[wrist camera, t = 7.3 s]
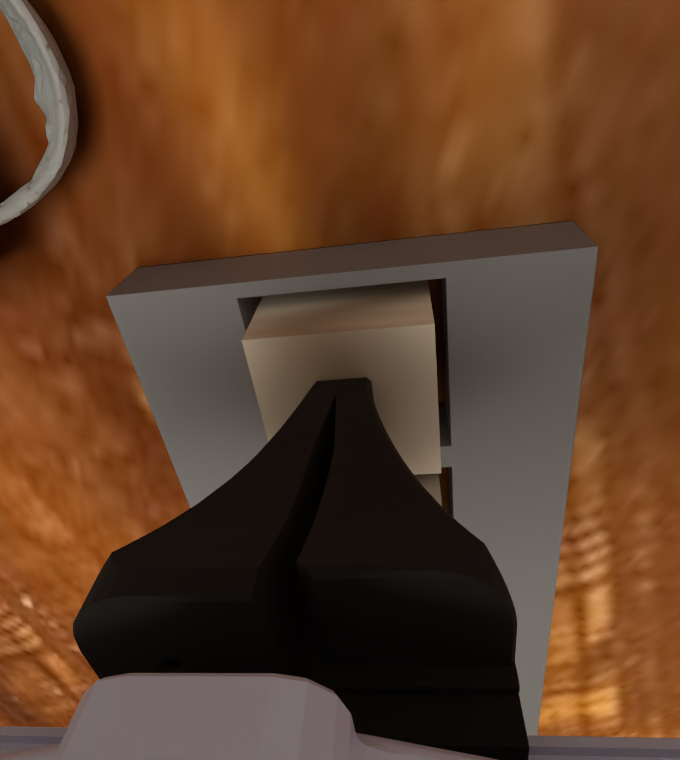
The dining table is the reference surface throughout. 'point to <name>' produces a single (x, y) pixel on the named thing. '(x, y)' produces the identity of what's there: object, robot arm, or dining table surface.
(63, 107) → the ceramic mug
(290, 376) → the key
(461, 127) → the dining table surface
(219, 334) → the grey slotted tray
